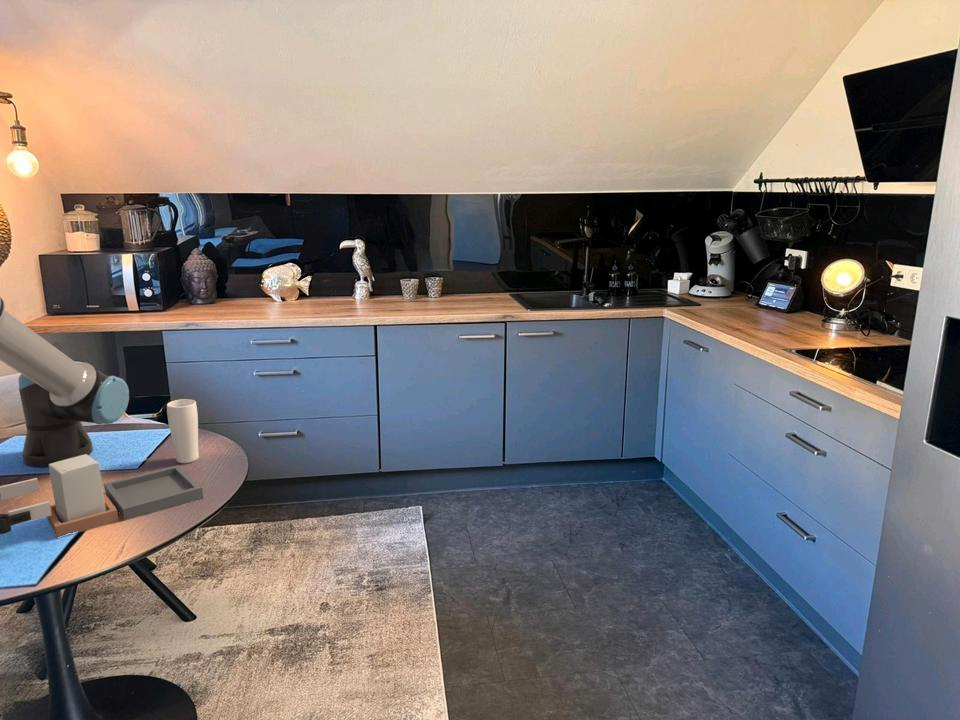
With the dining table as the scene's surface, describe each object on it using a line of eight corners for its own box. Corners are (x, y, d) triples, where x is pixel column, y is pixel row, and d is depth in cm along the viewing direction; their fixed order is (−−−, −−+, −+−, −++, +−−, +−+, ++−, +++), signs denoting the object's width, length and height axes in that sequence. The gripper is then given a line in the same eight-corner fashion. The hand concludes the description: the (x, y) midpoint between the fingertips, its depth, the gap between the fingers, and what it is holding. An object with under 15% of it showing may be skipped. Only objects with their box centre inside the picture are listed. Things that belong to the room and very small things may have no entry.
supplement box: (108, 519, 141) (99, 462, 138) (68, 532, 136) (58, 473, 133) (95, 508, 146) (87, 453, 143) (56, 520, 141) (47, 463, 137)
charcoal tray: (105, 494, 152) (103, 483, 152) (179, 474, 162) (178, 465, 162) (124, 520, 141) (122, 509, 140) (203, 497, 151) (202, 487, 150)
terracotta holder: (46, 518, 141) (44, 507, 141) (105, 502, 148) (103, 491, 148) (57, 538, 133) (55, 527, 133) (118, 521, 140) (117, 510, 140)
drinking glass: (191, 466, 167) (185, 408, 163) (167, 464, 168) (160, 406, 165) (207, 455, 174) (201, 399, 170) (183, 453, 175) (177, 398, 171)
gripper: (-92, 522, 132) (36, 491, 145) (-88, 578, 113) (58, 537, 127) (-101, 487, 130) (30, 459, 143) (-98, 538, 111) (52, 500, 125)
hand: (44, 495), depth 135 cm, fingers open, 13 cm apart
